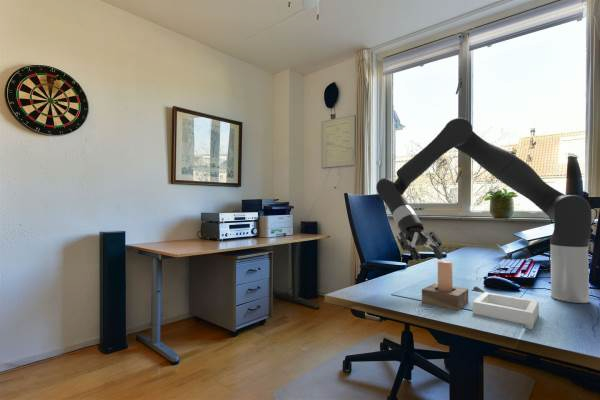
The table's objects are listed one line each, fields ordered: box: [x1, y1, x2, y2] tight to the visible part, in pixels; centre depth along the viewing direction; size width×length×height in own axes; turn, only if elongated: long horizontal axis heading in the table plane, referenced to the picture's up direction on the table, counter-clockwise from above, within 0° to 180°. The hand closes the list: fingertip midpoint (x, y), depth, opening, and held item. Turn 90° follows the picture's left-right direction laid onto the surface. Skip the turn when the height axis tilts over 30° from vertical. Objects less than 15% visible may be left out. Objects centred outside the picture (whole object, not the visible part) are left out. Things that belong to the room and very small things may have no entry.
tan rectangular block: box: [437, 260, 454, 292], centre depth 94 cm, size 4×4×12 cm
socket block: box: [421, 282, 469, 312], centre depth 94 cm, size 10×10×5 cm
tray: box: [472, 291, 540, 330], centre depth 85 cm, size 13×13×4 cm
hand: (430, 258), depth 100 cm, fingers open, 8 cm apart
